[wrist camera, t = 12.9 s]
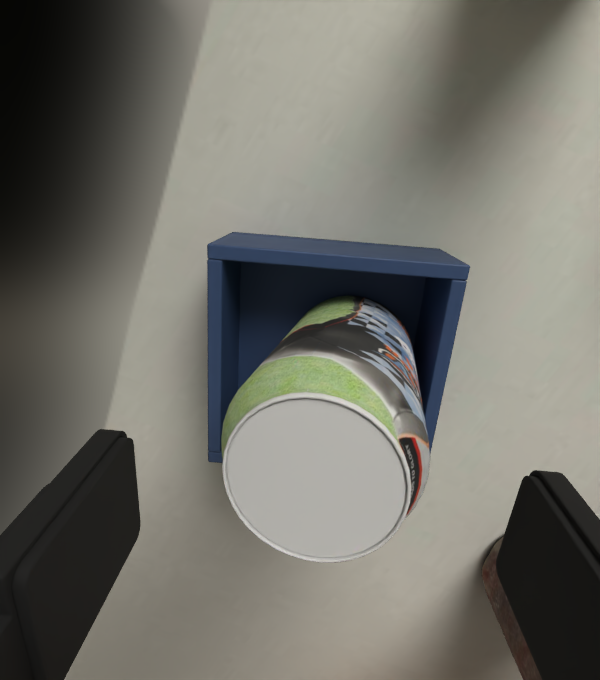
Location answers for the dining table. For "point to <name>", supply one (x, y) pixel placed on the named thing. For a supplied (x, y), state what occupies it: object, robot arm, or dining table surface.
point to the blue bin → (313, 288)
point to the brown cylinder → (507, 617)
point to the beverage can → (329, 435)
